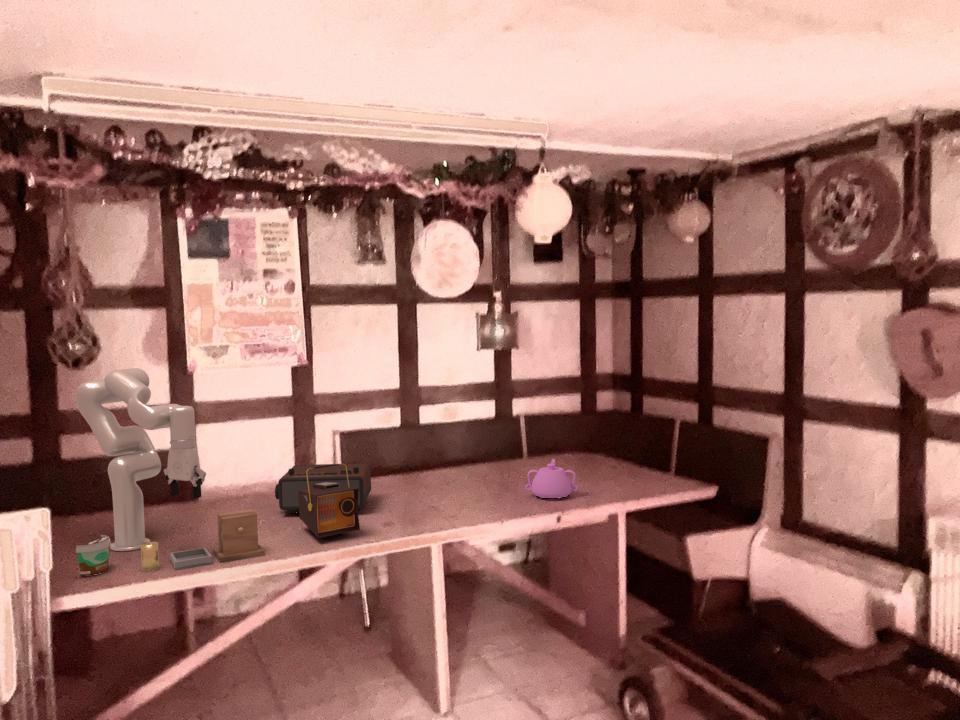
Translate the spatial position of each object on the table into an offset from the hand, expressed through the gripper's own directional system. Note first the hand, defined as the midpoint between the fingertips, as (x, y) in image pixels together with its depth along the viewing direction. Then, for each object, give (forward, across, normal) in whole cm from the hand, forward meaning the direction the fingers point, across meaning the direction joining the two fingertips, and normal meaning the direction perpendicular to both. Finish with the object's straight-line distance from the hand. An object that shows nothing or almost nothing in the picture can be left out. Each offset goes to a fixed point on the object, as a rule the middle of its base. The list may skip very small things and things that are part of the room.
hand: (185, 496), depth 251 cm
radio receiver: (+21, +3, +69) cm, 72 cm away
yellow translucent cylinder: (+20, -3, -13) cm, 24 cm away
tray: (+20, +4, -3) cm, 21 cm away
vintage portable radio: (+20, +26, +39) cm, 51 cm away
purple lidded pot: (+20, +82, +121) cm, 147 cm away
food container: (+21, -16, -20) cm, 33 cm away
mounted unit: (+20, +13, +9) cm, 26 cm away
